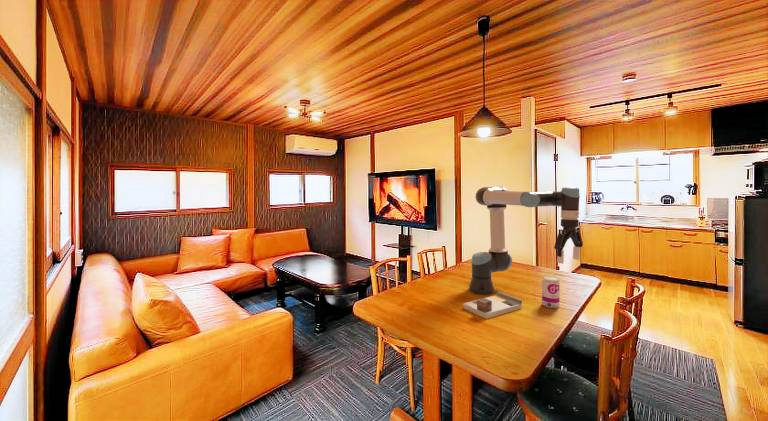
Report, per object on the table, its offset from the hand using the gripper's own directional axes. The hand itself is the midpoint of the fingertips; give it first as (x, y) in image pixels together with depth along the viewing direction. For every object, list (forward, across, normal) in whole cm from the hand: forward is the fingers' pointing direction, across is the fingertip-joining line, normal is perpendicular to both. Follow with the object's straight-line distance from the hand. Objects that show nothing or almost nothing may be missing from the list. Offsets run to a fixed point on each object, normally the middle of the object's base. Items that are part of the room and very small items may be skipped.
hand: (568, 261), depth 151 cm
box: (+27, -26, +24) cm, 45 cm away
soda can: (+27, +3, +11) cm, 29 cm away
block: (+25, -36, +21) cm, 48 cm away
